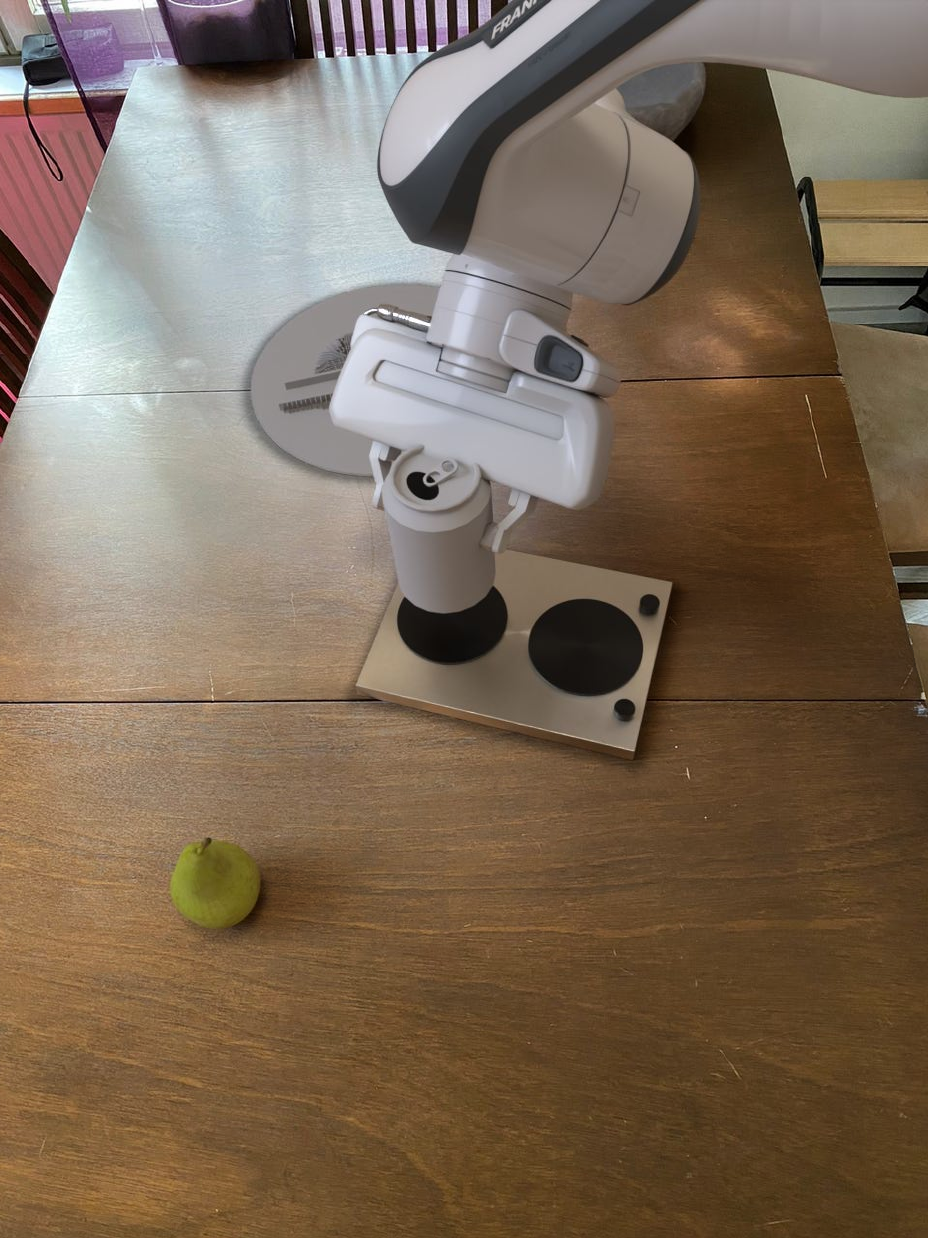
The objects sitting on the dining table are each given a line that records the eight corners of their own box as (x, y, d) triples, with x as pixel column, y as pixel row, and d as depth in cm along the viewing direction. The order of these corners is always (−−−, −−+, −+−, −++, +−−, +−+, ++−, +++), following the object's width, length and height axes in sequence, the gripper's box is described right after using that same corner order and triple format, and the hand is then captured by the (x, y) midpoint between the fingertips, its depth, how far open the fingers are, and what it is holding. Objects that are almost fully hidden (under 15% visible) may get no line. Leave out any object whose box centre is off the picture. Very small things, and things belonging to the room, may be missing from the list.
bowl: (704, 104, 123) (716, 19, 115) (686, 206, 111) (698, 120, 103) (526, 93, 127) (526, 10, 119) (490, 191, 115) (487, 106, 107)
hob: (670, 592, 81) (674, 576, 79) (632, 760, 72) (635, 746, 70) (420, 542, 85) (418, 525, 83) (357, 695, 77) (353, 680, 75)
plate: (264, 501, 89) (261, 492, 88) (241, 312, 105) (238, 303, 104) (559, 444, 91) (559, 434, 90) (493, 267, 107) (492, 257, 106)
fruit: (178, 882, 69) (118, 814, 59) (256, 848, 70) (210, 776, 60) (199, 957, 66) (140, 899, 56) (281, 920, 67) (237, 857, 57)
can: (380, 571, 75) (357, 463, 65) (461, 527, 77) (450, 416, 67) (432, 636, 71) (416, 533, 62) (515, 588, 73) (512, 480, 64)
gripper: (341, 287, 65) (292, 484, 69) (624, 371, 59) (554, 582, 63) (383, 303, 71) (335, 484, 75) (644, 381, 65) (579, 574, 68)
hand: (437, 530), depth 69 cm, fingers closed on can, 7 cm apart
